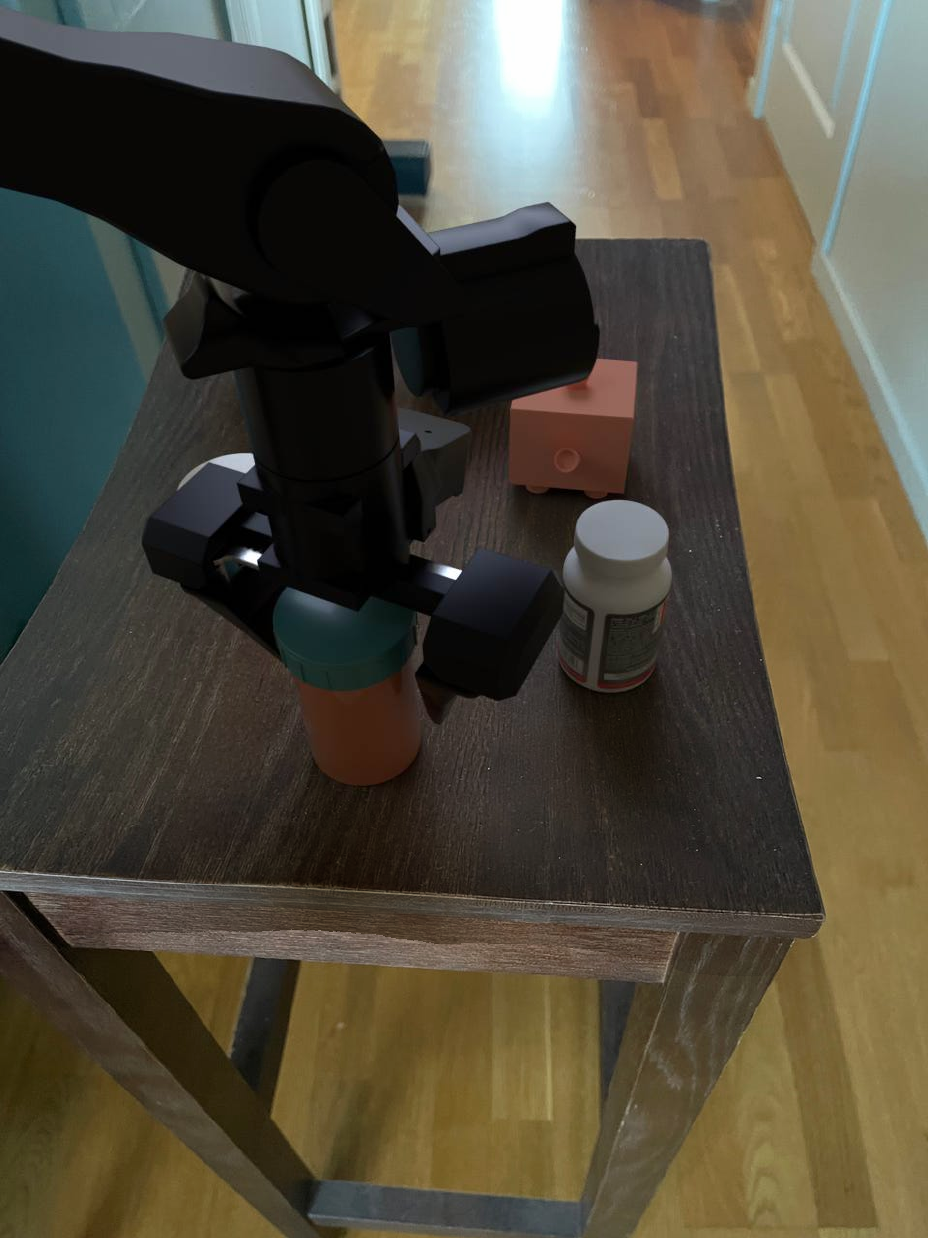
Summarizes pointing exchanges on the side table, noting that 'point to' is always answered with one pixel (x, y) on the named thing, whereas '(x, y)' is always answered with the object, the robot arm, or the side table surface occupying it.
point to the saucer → (226, 464)
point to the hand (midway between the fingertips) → (366, 688)
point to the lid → (342, 640)
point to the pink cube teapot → (576, 433)
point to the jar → (363, 728)
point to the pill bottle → (614, 596)
